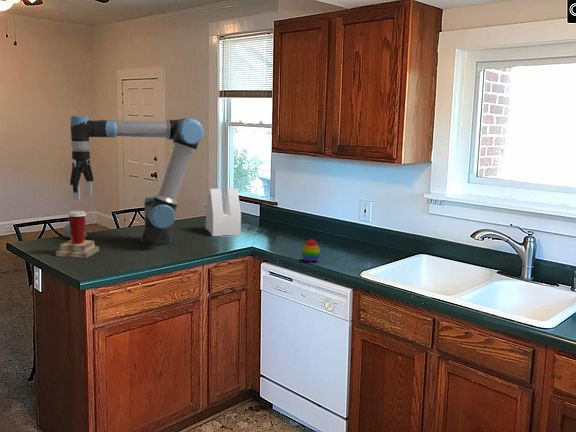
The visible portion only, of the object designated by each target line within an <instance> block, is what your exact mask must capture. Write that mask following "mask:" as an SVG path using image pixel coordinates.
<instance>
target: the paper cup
mask: <svg viewBox="0 0 576 432" xmlns="http://www.w3.org/2000/svg"><path fill="white" fill-rule="evenodd" d="M67 216H68V220H69V223H70V234H71V238H70V240H71V243H73V244H81V243H84V240H86V239H85V238H86V237H85V233H86V216H87V214H86V211H84V210H72V211H69V213H68V215H67ZM69 223H68V224H69Z"/></svg>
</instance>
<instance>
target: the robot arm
mask: <svg viewBox="0 0 576 432" xmlns="http://www.w3.org/2000/svg"><path fill="white" fill-rule="evenodd" d="M204 133H205V131H204V127H203V125H202V123H200V122H199V121H198V120H197V119H195V118H191V117H190V118H179V119H178V118H177V119H167V120H166V121H150V120H149V121H147V120H109V119H97V120H91V119H89V116H88V115H72V116H70V138H71V140H70V142H71V143H70V145H71V150H72V152H71V159H72V160H75V162H74V161H73V162H72V163H71V165H72V167H71V172H70V173H71V175H70V180H69V185H70V186H72V198H73V200H74V201H77V200H78V201H79V200H81V191H80V189H81V188H80V185H79V183H80V179H81V175H82V174H83V177H84V179H85V181H84V185H85V188H84V189H85V192H84V193H85V196H93V194H92V193H93V189H92V188H93V186H92V182H94V174H93V171H92V167H91V160H90V159H91V154H90V150H91V149H90V148H91V145H90V138H109V139H110V138H116V137H132V138H133V137H138V138H166V139H167V140H172V144H173V145H174V147H173V151H172V154H171V156H170V160H169V162H168V166H167V168H166V171H165V174H164V177H163V180H162V183H161V186H160V188H159V191H158V194H156V195H154V196H153V197H151V196H150V197H146V198H145V199H144V202H143V205H144V228H143V231H142V234H141V238H140V242H141V244H144V245H149V246H162V245H163V246H165V245H168V244H171V243H172V240H173V239H172V238H173V237H172V235H171V232H170V228H169V227H170V226H172V225H173V224H174V222H175V220H176V211H177V207H178V205H179V204H178V201H177V197H178V194H179V191H180V188H181V185H182V183H183V180H184V177H185V175H186V170H187V168H188V165H189V162H190V159H191V156H192V153H194V152H195V151H197V149H198V146H199V144H200V142H201V141H202V139H203V138H204Z"/></svg>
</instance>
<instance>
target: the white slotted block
mask: <svg viewBox="0 0 576 432" xmlns="http://www.w3.org/2000/svg"><path fill="white" fill-rule="evenodd" d="M222 197H223V196H222V189H221V188H209V191H208V197H207V202H206V208H205V230H206V229H207V230H208V231H209V232H210V233H211V234H212V235H211V234H210V233H209V234H210V235H211V237H213V236H222V235H240V236H241V229H242V228H241V227H242V211H241V205H240V204H241V203H240V197H239V191H238V188H236V187H235V188H226V191H225V196H224V200H223V198H222ZM222 237H223V236H222Z"/></svg>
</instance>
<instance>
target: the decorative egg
mask: <svg viewBox="0 0 576 432" xmlns="http://www.w3.org/2000/svg"><path fill="white" fill-rule="evenodd" d="M301 255H302V258H303V261H305V262H306V261H316V262H317V261H318V260H319V258H320V255H321V251H320V246H319V245H318V242H316V241H315V240H314V239H309V240H307V241H306V242H305V244H304V245H303V247H302V251H301Z"/></svg>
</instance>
